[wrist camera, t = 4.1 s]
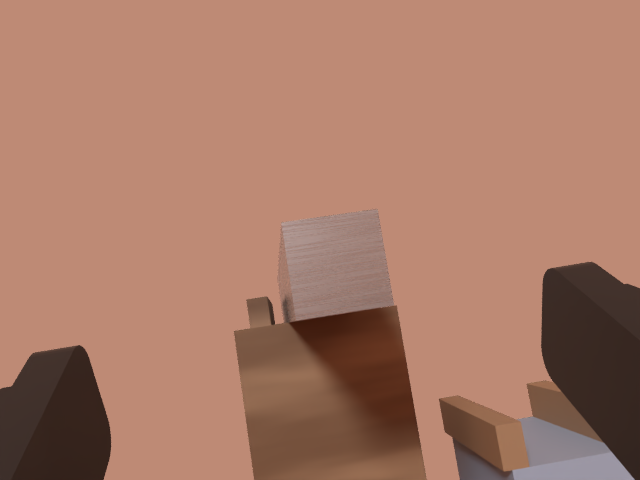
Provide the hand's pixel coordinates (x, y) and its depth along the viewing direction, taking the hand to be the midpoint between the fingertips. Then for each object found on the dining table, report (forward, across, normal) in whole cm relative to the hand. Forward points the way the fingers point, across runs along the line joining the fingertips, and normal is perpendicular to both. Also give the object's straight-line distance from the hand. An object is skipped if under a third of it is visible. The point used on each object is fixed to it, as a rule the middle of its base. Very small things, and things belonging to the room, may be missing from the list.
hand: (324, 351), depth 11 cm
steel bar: (+18, -1, +10) cm, 21 cm away
